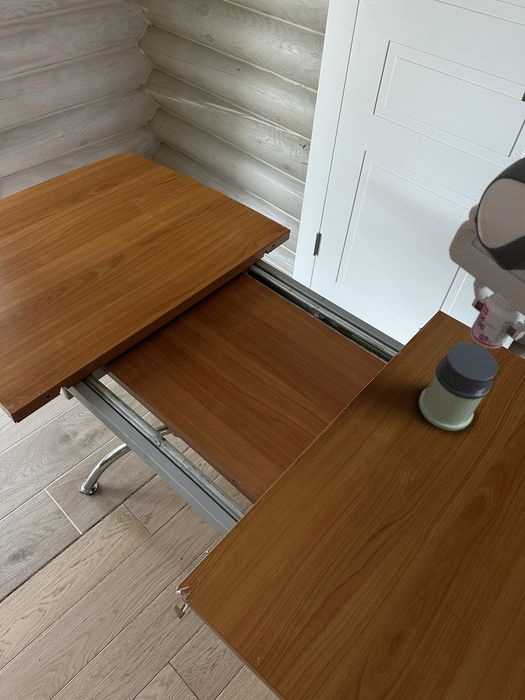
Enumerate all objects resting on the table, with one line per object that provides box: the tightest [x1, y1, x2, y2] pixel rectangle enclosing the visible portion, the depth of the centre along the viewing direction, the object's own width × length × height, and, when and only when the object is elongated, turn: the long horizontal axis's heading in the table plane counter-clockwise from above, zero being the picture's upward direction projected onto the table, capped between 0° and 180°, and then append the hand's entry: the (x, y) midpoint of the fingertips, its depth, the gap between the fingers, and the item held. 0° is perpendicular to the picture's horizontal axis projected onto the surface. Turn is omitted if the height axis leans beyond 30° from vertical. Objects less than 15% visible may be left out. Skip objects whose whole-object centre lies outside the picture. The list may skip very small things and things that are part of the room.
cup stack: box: [418, 342, 499, 431], centre depth 81 cm, size 9×9×12 cm
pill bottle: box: [469, 292, 522, 349], centre depth 69 cm, size 5×5×8 cm
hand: (495, 321), depth 70 cm, fingers closed on pill bottle, 5 cm apart
